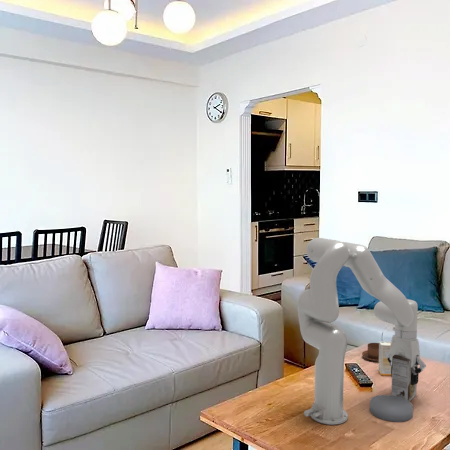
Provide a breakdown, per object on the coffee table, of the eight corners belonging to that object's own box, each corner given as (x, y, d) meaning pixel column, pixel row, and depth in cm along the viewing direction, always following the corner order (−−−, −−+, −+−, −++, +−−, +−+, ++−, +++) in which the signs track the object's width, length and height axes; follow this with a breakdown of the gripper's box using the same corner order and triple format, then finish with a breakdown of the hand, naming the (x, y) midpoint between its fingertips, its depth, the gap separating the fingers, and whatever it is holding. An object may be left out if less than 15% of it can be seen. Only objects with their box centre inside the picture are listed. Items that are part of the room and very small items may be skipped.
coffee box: (399, 390, 186) (400, 349, 185) (416, 395, 182) (418, 353, 181) (390, 398, 179) (391, 355, 178) (408, 403, 175) (409, 359, 174)
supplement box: (398, 372, 205) (399, 341, 203) (401, 376, 200) (402, 345, 199) (377, 371, 205) (378, 340, 204) (380, 375, 201) (381, 344, 200)
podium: (395, 426, 159) (395, 417, 159) (361, 409, 171) (361, 401, 170) (421, 414, 167) (421, 406, 167) (387, 399, 179) (387, 391, 178)
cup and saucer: (371, 352, 229) (372, 339, 228) (395, 359, 220) (395, 345, 219) (356, 358, 221) (356, 344, 221) (380, 365, 212) (380, 351, 211)
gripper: (379, 329, 184) (378, 374, 185) (420, 341, 169) (419, 390, 171) (392, 326, 188) (390, 370, 190) (433, 338, 174) (431, 385, 175)
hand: (404, 379), depth 180 cm, fingers open, 7 cm apart
